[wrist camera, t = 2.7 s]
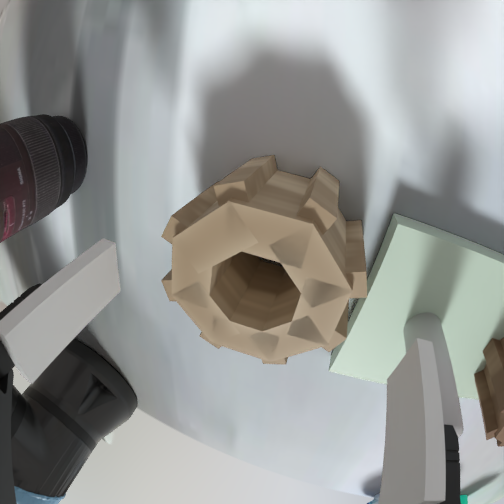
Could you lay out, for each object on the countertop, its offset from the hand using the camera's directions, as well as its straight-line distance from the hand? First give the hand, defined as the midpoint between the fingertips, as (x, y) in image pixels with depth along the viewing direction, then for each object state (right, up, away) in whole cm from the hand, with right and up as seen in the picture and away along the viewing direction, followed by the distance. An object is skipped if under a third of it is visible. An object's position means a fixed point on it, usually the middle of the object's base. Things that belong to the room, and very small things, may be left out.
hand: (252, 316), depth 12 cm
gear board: (+17, -3, +5) cm, 18 cm away
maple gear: (+2, +3, +7) cm, 8 cm away
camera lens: (-15, +10, +9) cm, 20 cm away
